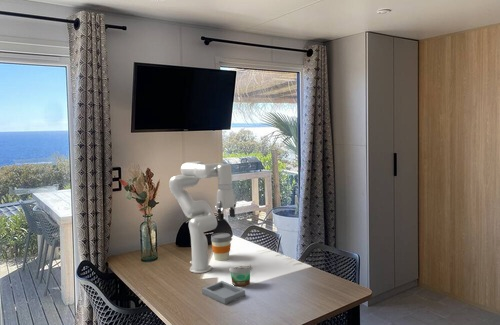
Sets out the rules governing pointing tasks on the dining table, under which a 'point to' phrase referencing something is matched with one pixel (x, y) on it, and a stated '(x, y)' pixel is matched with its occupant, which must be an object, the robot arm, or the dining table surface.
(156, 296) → the dining table surface
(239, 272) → the food container
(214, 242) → the reusable coffee cup
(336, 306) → the dining table surface
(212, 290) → the tray
